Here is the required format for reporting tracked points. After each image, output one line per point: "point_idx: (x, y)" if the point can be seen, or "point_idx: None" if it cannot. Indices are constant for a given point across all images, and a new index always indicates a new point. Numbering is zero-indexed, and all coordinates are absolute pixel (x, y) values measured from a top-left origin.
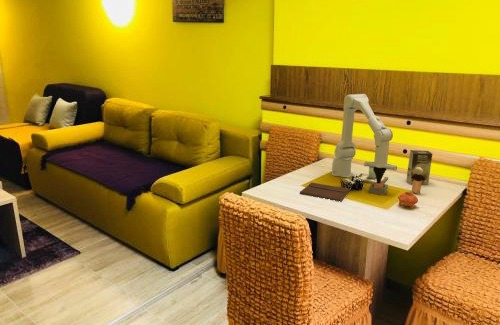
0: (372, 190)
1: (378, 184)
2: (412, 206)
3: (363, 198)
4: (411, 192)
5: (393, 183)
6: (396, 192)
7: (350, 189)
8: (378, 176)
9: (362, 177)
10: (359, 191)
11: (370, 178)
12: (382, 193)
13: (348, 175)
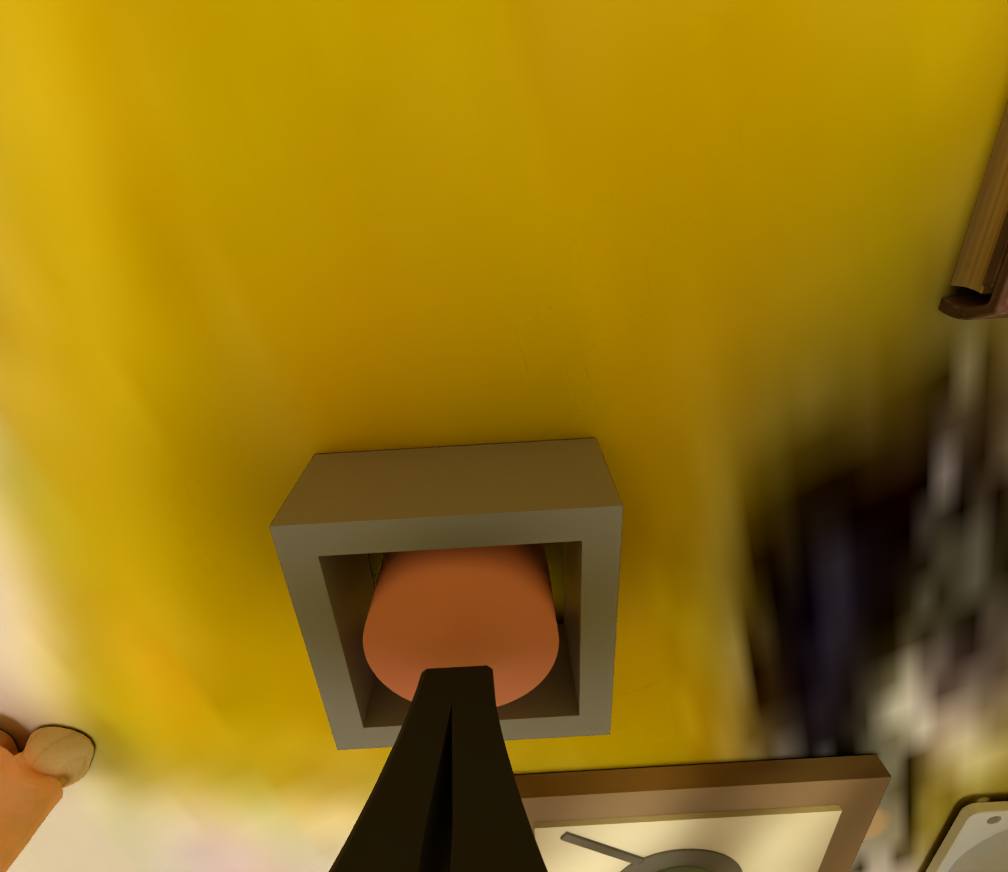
0: (533, 470)
1: None
2: None
3: (616, 6)
4: (51, 733)
5: None
6: (225, 658)
7: (1005, 282)
8: (455, 870)
9: (792, 860)
10: (767, 413)
11: (688, 869)
12: (337, 469)
13: (975, 849)
